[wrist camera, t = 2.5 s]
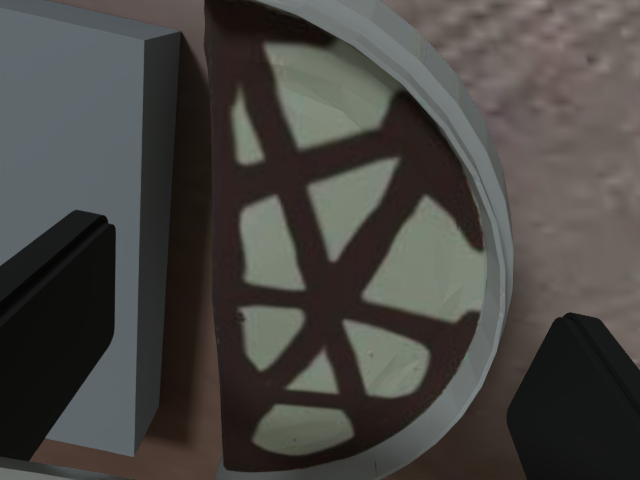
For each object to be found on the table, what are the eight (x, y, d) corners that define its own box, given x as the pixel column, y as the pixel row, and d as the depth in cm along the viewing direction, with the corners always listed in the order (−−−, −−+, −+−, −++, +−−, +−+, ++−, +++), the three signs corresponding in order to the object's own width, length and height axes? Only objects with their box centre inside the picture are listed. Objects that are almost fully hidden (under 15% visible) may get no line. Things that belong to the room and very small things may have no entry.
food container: (420, 306, 20) (459, 550, 12) (276, 291, 21) (209, 518, 12) (487, -25, 15) (669, -36, 6) (286, -40, 15) (170, -73, 6)
